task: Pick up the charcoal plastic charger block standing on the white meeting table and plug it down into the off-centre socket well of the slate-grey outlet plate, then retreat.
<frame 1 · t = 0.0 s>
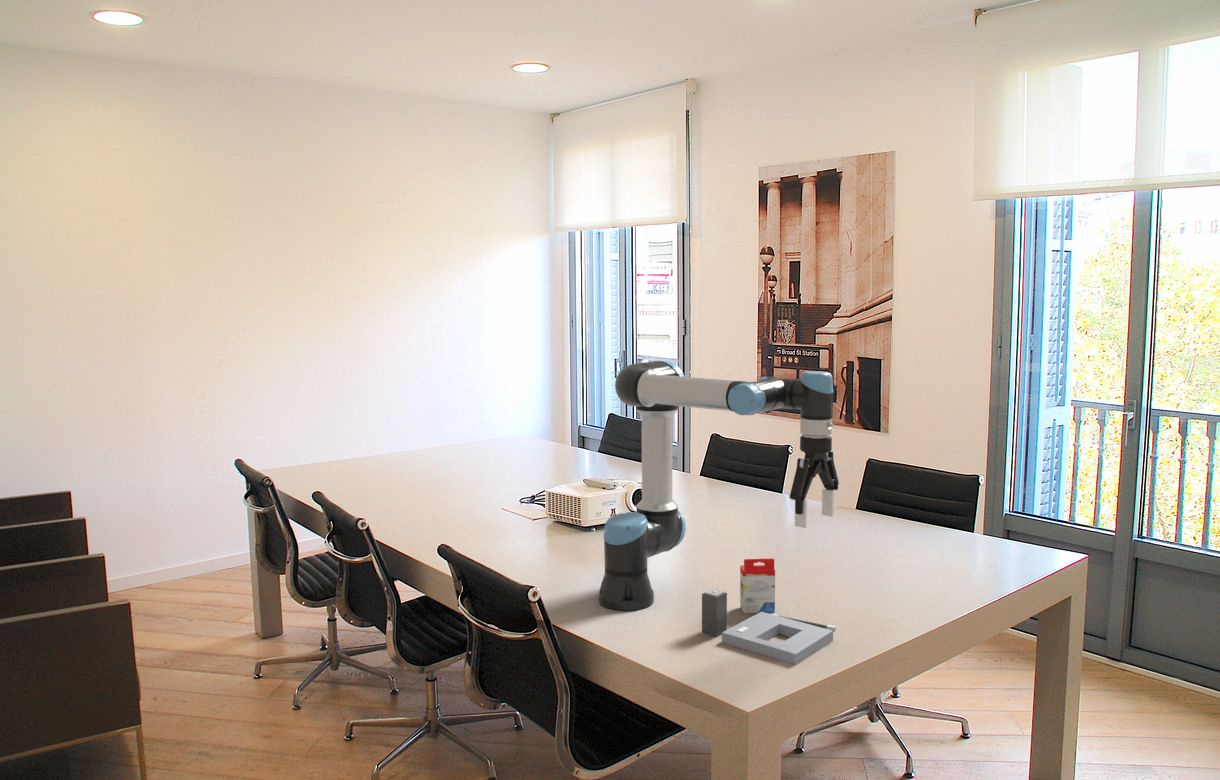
hand: (814, 521, 221), 28 cm above the table, fingers open, 13 cm apart
cable: (802, 623, 229), on the table
charger plug: (714, 632, 224), on the table
ink box: (757, 610, 239), on the table
outlet plate: (777, 641, 218), on the table
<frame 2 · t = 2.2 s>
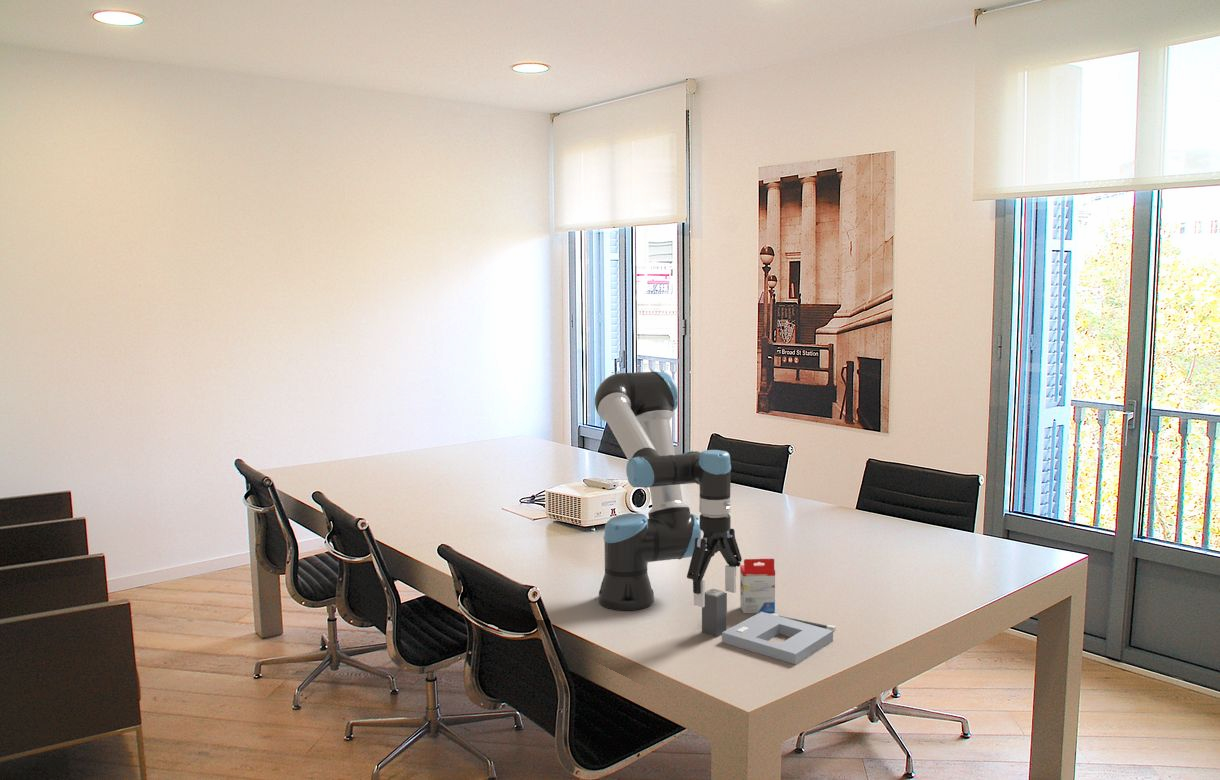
hand: (715, 598, 222), 9 cm above the table, fingers open, 13 cm apart
nothing on the table moved.
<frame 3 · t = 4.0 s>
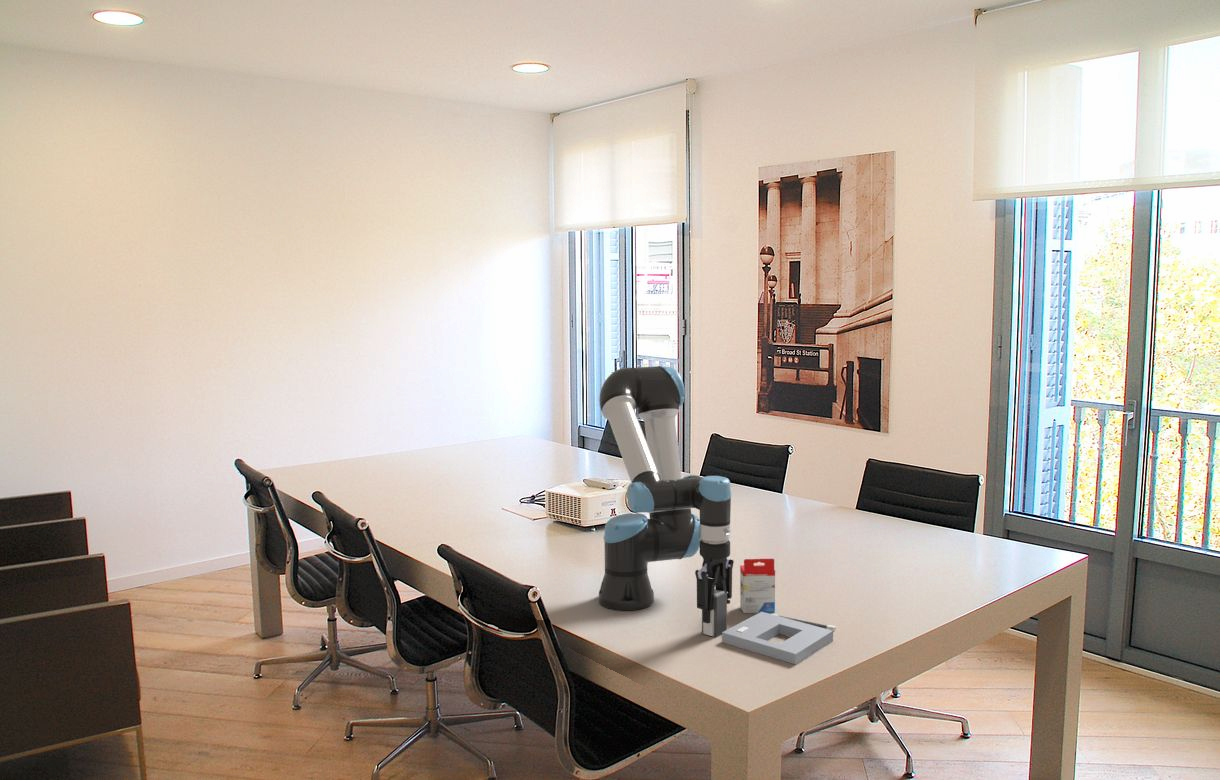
hand: (714, 631, 224), 0 cm above the table, fingers closed on charger plug, 4 cm apart
charger plug: (714, 632, 224), on the table, touching gripper
everything else where it was.
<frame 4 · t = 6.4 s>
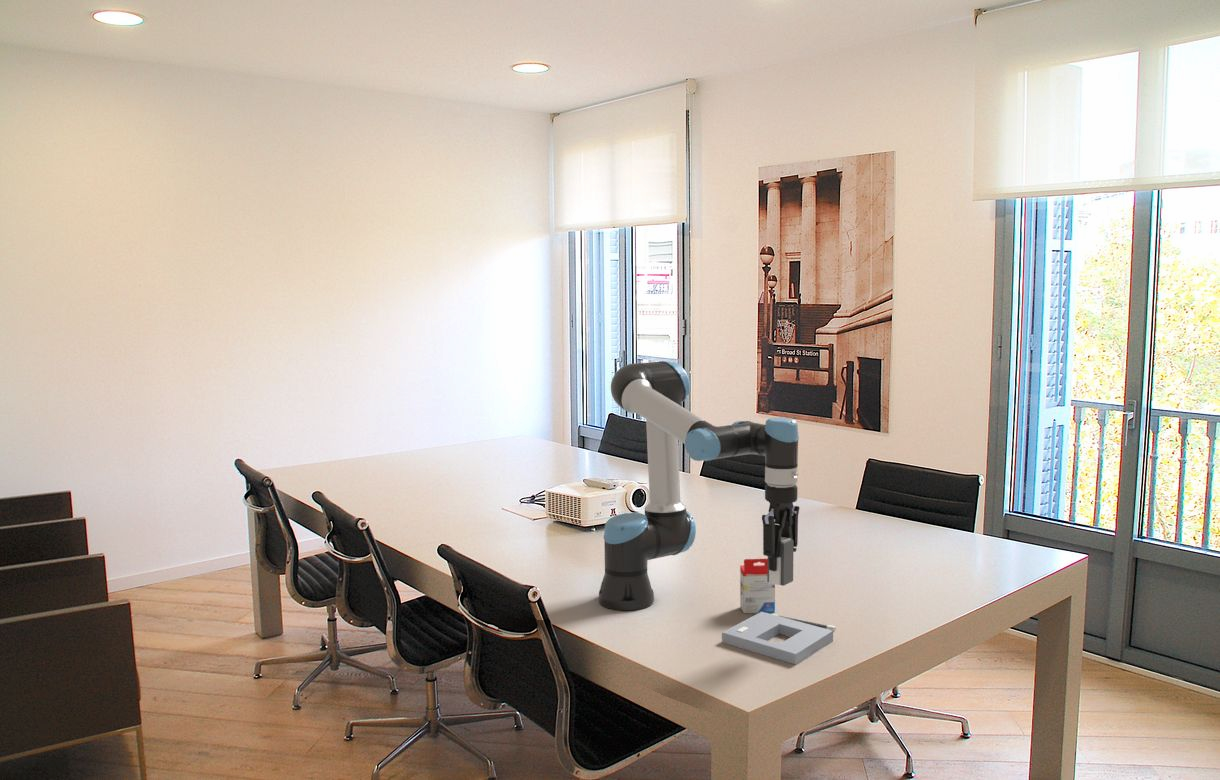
hand: (780, 580, 214), 16 cm above the table, fingers closed on charger plug, 4 cm apart
charger plug: (780, 581, 214), point 15 cm above the table, touching gripper
everything else where it was.
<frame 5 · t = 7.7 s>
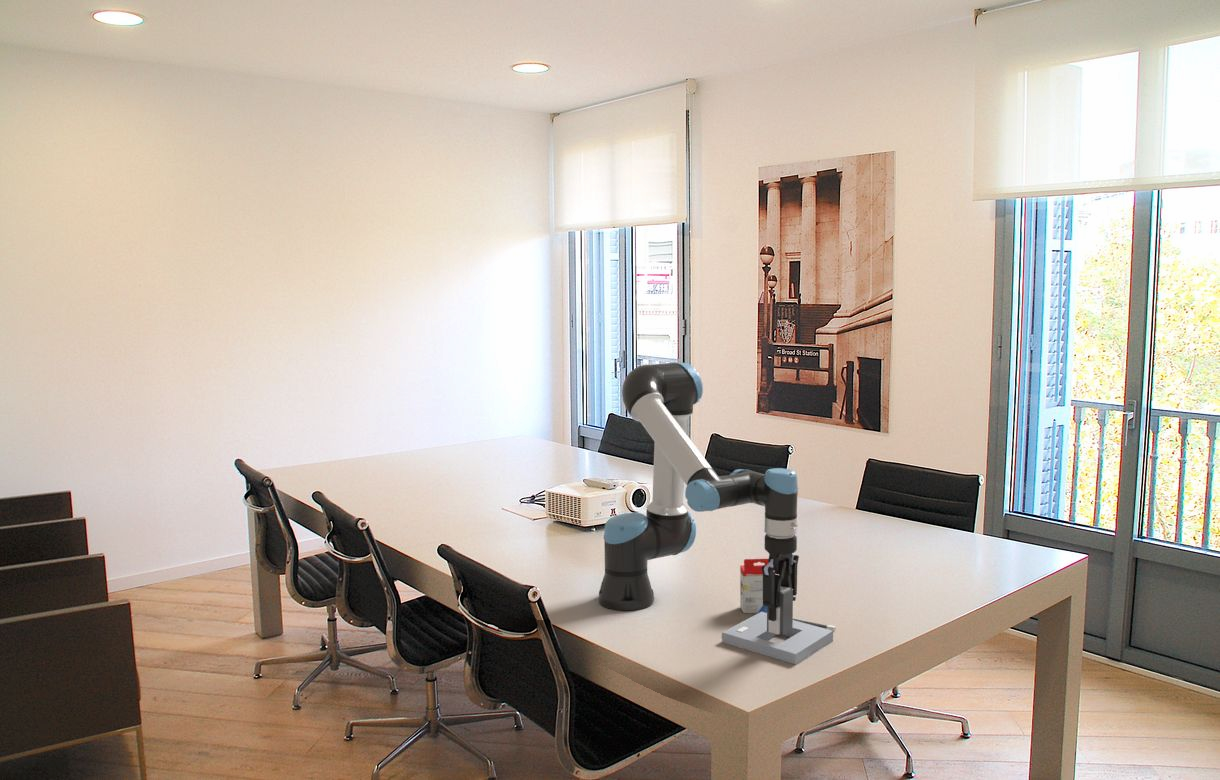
hand: (779, 629, 216), 4 cm above the table, fingers closed on charger plug, 4 cm apart
charger plug: (779, 630, 216), point 3 cm above the table, touching gripper
everything else where it was.
when the fingers open (2 cm above the table, at t = 8.6 s): charger plug drops 2 cm, resting in outlet plate.
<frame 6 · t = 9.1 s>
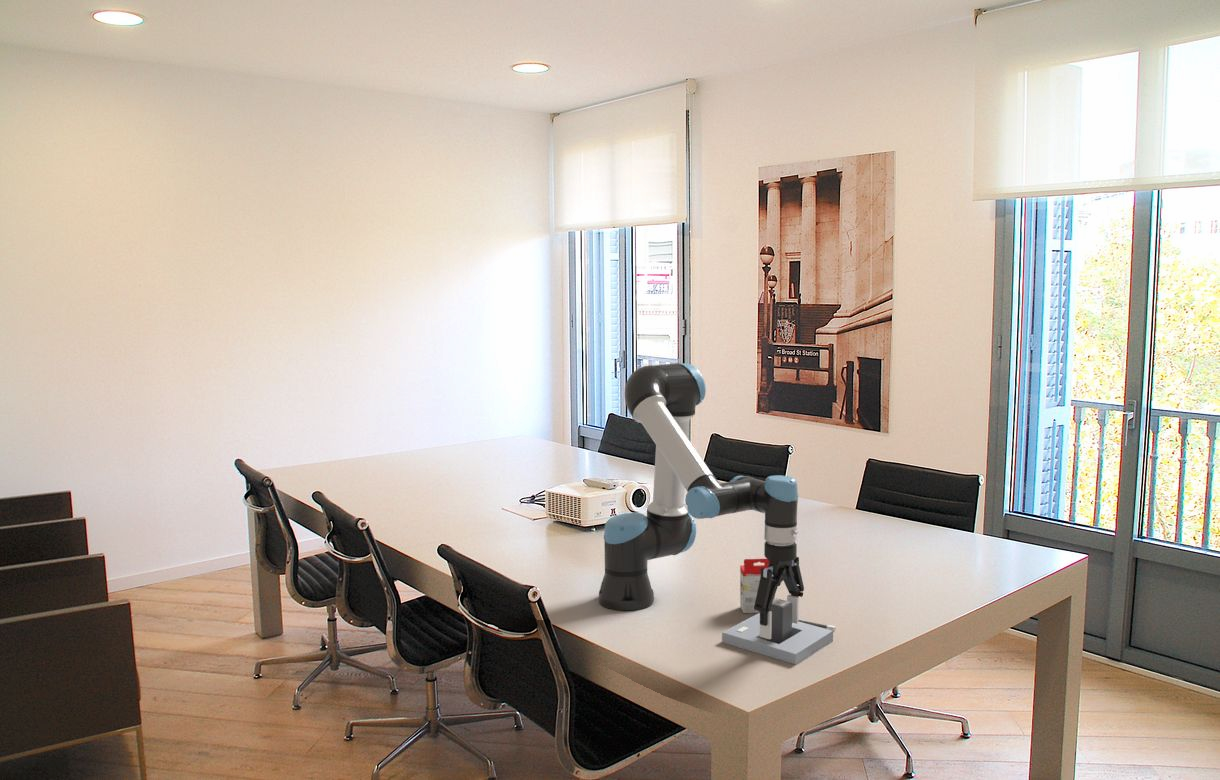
hand: (779, 629, 216), 4 cm above the table, fingers open, 12 cm apart
charger plug: (778, 643, 216), resting in outlet plate
everything else where it was.
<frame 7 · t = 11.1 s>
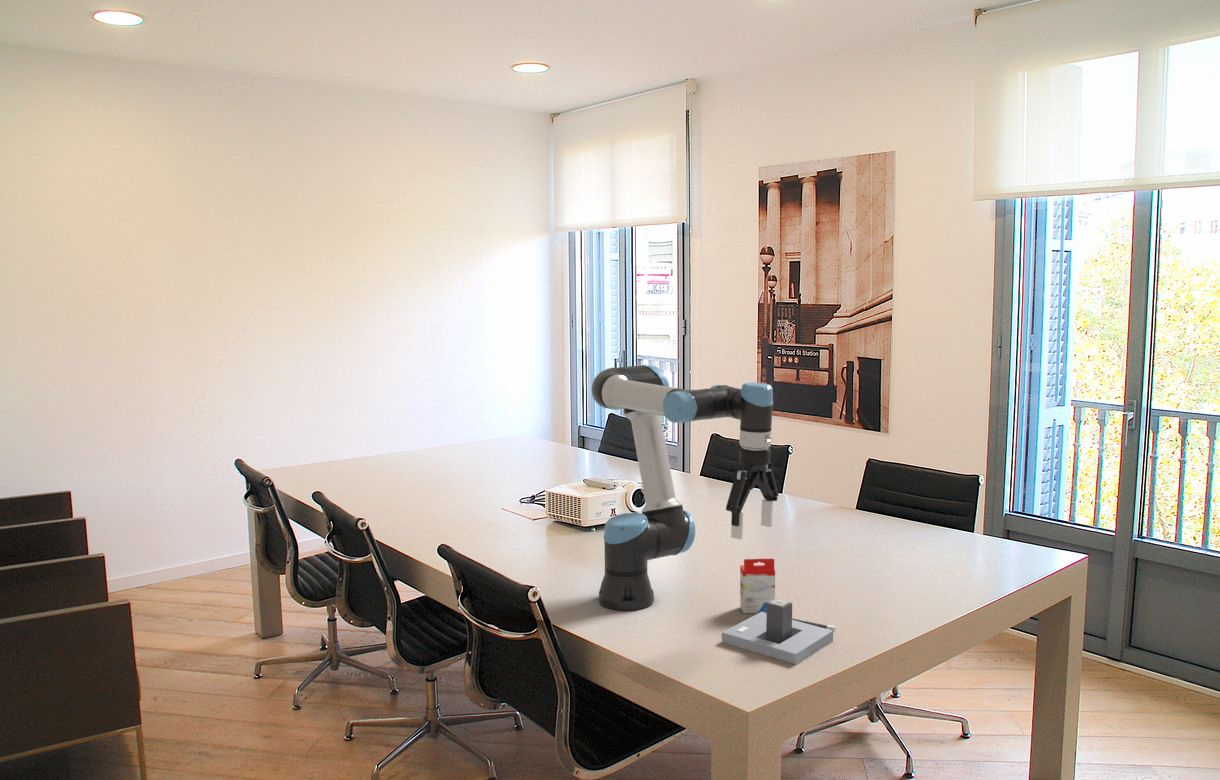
hand: (751, 532, 221), 25 cm above the table, fingers open, 13 cm apart
nothing on the table moved.
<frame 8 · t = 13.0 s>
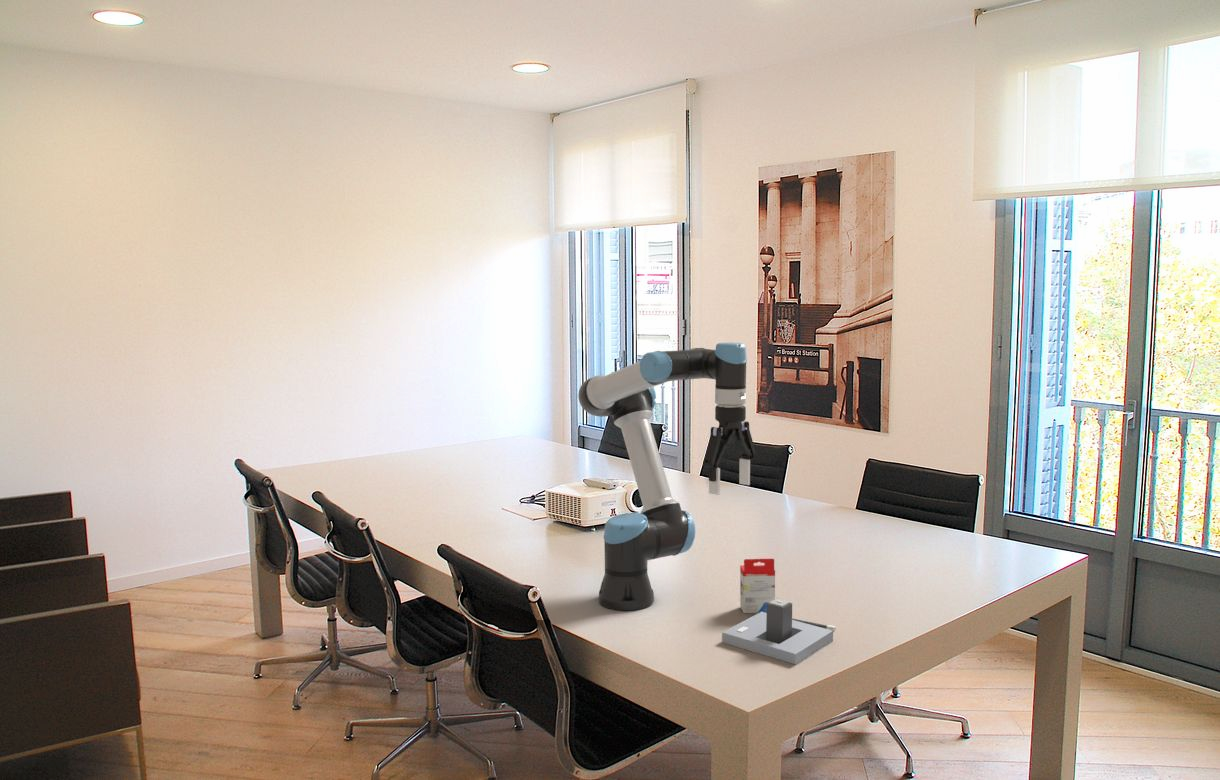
hand: (729, 489, 226), 35 cm above the table, fingers open, 13 cm apart
nothing on the table moved.
at the end: charger plug 0.0 cm from the target spot on the outlet plate, point 0.0 cm above the outlet plate's base; charger plug tilted 0°; the gripper is holding nothing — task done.
